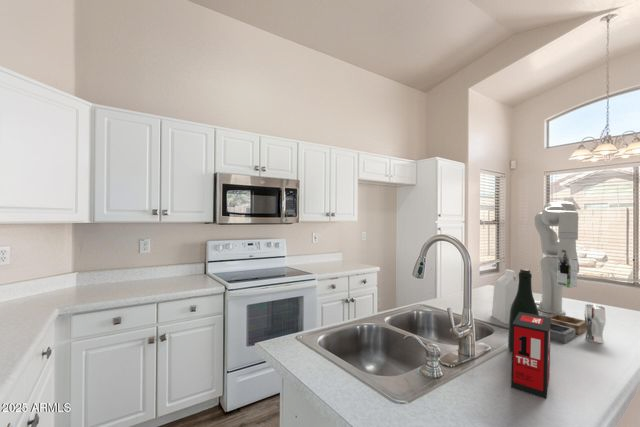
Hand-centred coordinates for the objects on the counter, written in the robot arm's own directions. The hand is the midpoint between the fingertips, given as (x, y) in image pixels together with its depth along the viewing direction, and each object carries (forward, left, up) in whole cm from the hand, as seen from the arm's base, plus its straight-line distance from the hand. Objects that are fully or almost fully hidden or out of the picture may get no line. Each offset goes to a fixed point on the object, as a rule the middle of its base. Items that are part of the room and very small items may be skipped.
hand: (567, 272), depth 150 cm
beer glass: (+12, -7, -28) cm, 31 cm away
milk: (-21, -11, -28) cm, 36 cm away
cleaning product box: (+12, -71, -28) cm, 77 cm away
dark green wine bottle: (+1, -49, -28) cm, 56 cm away
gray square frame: (0, -17, -27) cm, 32 cm away
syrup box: (0, 0, -7) cm, 7 cm away
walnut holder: (0, 0, -27) cm, 27 cm away
